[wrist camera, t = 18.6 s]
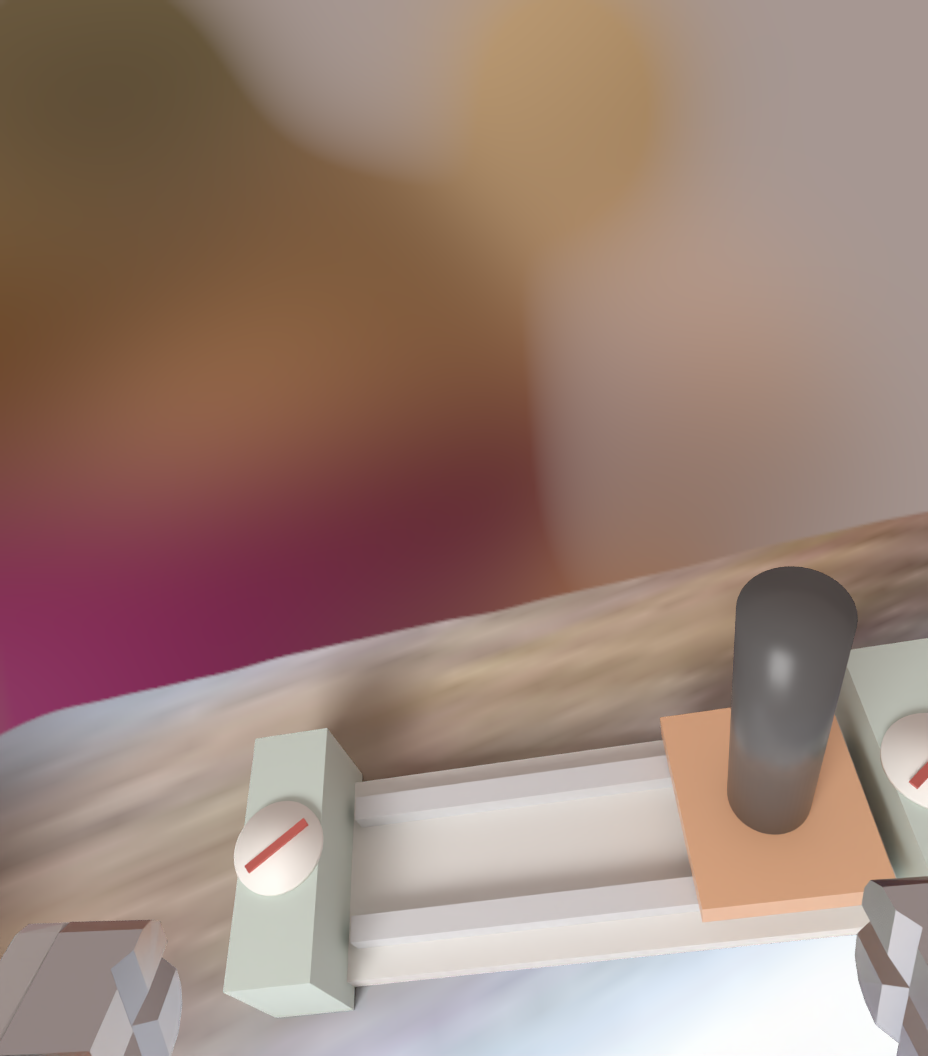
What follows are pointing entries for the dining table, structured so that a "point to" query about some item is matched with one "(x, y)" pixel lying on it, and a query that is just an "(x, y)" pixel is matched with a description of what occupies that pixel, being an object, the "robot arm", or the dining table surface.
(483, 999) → the dining table surface
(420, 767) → the dining table surface
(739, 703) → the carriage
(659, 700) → the dining table surface
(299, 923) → the track
